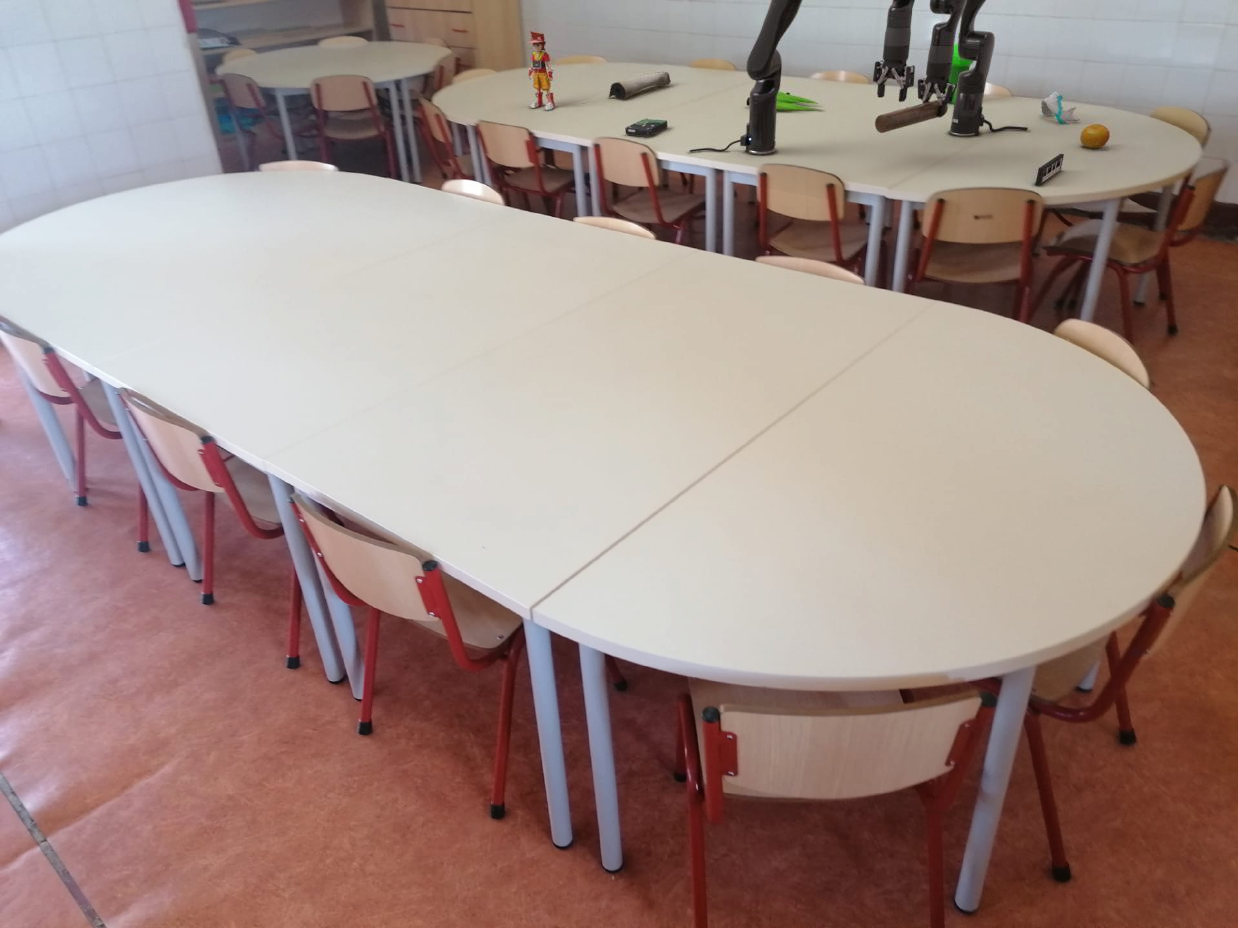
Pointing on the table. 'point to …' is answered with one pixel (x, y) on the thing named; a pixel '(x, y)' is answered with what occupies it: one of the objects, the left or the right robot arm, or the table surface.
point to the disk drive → (646, 127)
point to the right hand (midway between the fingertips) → (932, 115)
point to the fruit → (1095, 136)
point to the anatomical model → (1057, 108)
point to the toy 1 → (541, 71)
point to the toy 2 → (790, 102)
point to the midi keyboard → (1049, 169)
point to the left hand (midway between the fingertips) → (891, 99)
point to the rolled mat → (638, 84)
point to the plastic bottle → (957, 68)
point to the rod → (907, 116)
